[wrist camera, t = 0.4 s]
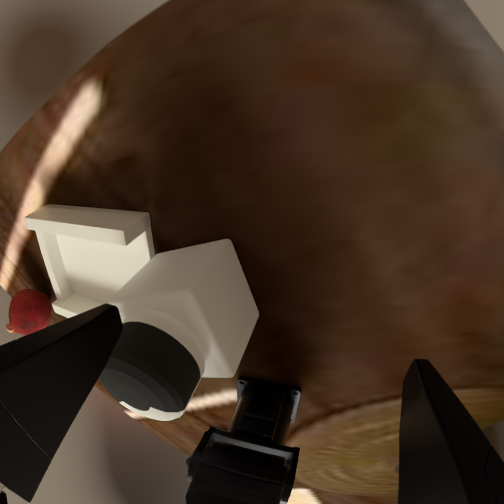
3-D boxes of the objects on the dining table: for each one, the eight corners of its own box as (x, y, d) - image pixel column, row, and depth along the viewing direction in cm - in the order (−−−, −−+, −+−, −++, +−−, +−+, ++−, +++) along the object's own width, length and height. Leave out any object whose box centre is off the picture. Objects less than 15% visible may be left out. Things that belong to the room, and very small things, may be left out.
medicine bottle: (155, 252, 25) (61, 347, 15) (231, 236, 22) (144, 354, 12) (189, 320, 28) (123, 422, 18) (261, 314, 25) (209, 440, 15)
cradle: (167, 323, 29) (150, 347, 26) (73, 295, 32) (55, 312, 29) (149, 212, 23) (123, 230, 20) (48, 204, 26) (24, 217, 23)
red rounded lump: (54, 283, 32) (11, 321, 25) (67, 319, 35) (30, 357, 28) (29, 273, 33) (-11, 305, 27) (41, 307, 36) (6, 340, 29)
